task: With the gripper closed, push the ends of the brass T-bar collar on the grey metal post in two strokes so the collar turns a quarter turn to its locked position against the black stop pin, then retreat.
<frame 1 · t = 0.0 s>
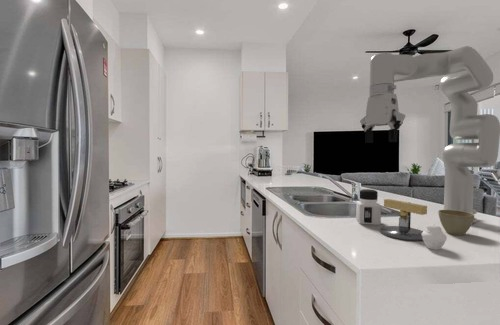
hand: (380, 142, 95), 31 cm above the worktop, fingers open, 9 cm apart
container: (367, 222, 110), on the worktop
post base: (403, 234, 94), on the worktop
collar: (404, 210, 93), point 8 cm above the worktop, hinge at 0.0°
white rounded lump: (433, 248, 81), on the worktop
olive brown bowl: (455, 233, 95), on the worktop
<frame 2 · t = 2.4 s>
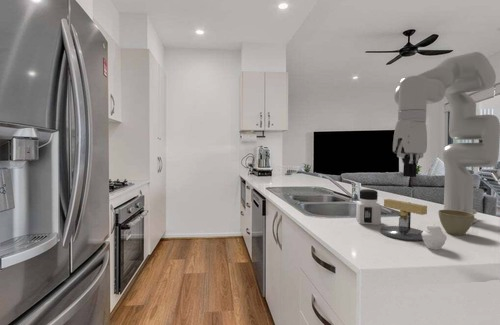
hand: (409, 176, 86), 20 cm above the worktop, fingers closed
nothing on the worktop moved.
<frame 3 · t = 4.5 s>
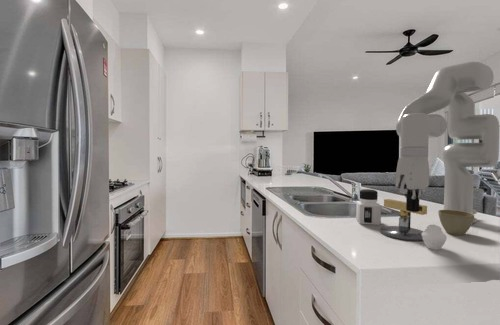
hand: (412, 210, 88), 9 cm above the worktop, fingers closed
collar: (404, 210, 93), point 8 cm above the worktop, hinge at 0.3°, touching gripper
everything else where it was.
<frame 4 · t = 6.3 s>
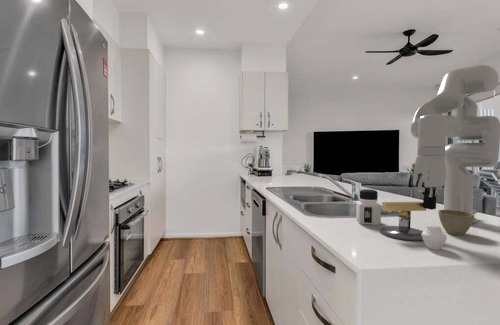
hand: (429, 208, 91), 9 cm above the worktop, fingers closed
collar: (404, 210, 93), point 8 cm above the worktop, hinge at 70.3°, touching gripper
everything else where it was.
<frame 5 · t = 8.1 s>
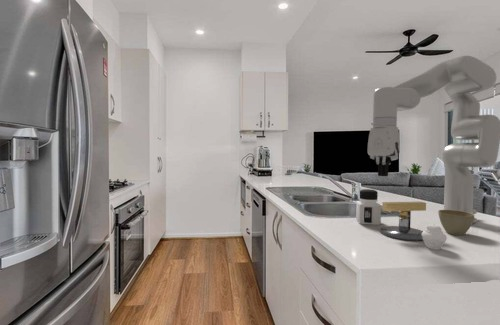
hand: (382, 175, 98), 19 cm above the worktop, fingers closed
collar: (404, 210, 93), point 8 cm above the worktop, hinge at 72.0°
everything else where it was.
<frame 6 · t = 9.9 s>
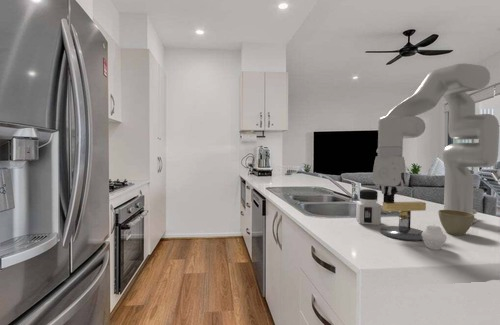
hand: (388, 205, 95), 9 cm above the worktop, fingers closed
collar: (404, 210, 93), point 8 cm above the worktop, hinge at 73.2°, touching gripper
everything else where it was.
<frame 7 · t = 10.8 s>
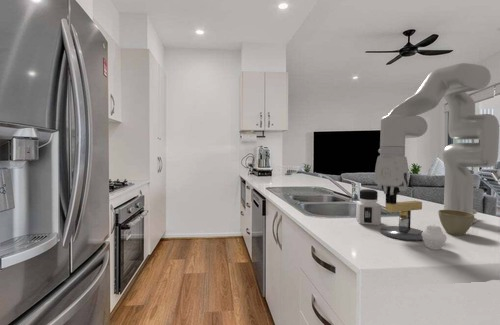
hand: (390, 205, 94), 9 cm above the worktop, fingers closed
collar: (404, 210, 93), point 8 cm above the worktop, hinge at 87.7°, touching gripper
everything else where it was.
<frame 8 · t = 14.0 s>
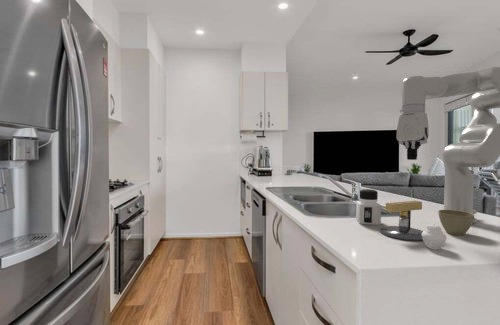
hand: (411, 159, 104), 25 cm above the worktop, fingers closed
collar: (404, 210, 93), point 8 cm above the worktop, hinge at 87.7°
everything else where it was.
at the end: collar at +88° (first picture: +0°); the gripper is holding nothing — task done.
